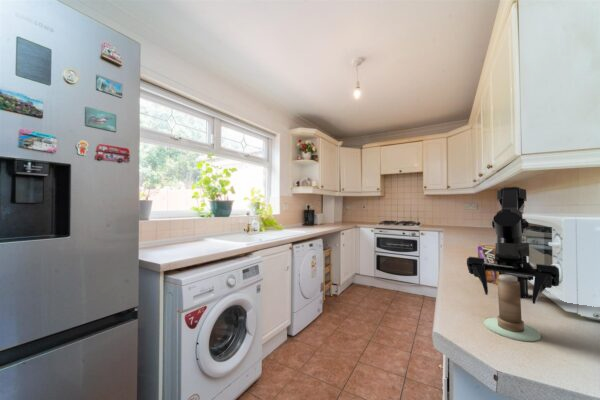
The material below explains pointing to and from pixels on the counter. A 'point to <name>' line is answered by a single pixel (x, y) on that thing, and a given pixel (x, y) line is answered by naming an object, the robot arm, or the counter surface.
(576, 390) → the counter surface
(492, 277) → the candy box
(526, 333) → the rubber mat
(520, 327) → the pepper mill
